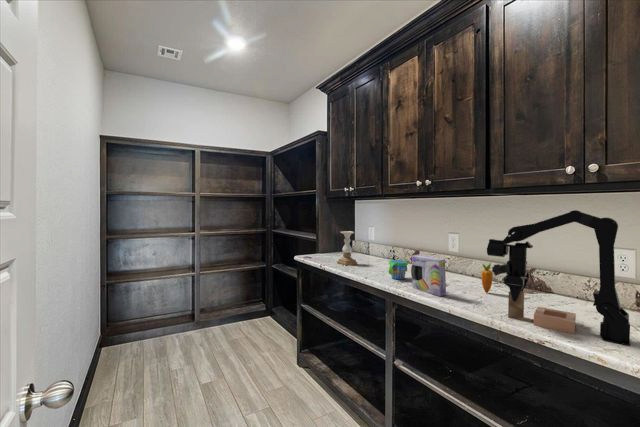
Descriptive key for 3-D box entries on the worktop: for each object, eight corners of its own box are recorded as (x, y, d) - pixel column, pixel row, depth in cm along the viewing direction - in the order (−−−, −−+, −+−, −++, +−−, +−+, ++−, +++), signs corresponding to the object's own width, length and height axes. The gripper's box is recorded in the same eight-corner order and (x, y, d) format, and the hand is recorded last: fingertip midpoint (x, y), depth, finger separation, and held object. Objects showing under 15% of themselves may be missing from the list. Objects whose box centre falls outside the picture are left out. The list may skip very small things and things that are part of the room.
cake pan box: (410, 287, 163) (410, 254, 163) (417, 286, 166) (417, 253, 165) (439, 297, 146) (439, 260, 146) (446, 296, 149) (447, 259, 148)
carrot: (480, 293, 153) (481, 263, 153) (481, 291, 158) (482, 261, 157) (491, 295, 151) (492, 264, 150) (492, 292, 155) (493, 262, 154)
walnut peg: (523, 317, 121) (524, 291, 120) (521, 320, 117) (522, 294, 117) (510, 314, 124) (510, 289, 123) (508, 317, 120) (508, 292, 120)
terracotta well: (575, 324, 114) (575, 313, 114) (574, 333, 105) (574, 322, 105) (537, 316, 121) (537, 306, 121) (533, 325, 113) (533, 314, 113)
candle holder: (357, 264, 226) (357, 232, 225) (345, 266, 220) (345, 232, 219) (348, 262, 235) (348, 230, 235) (336, 263, 229) (336, 231, 229)
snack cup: (399, 275, 192) (400, 258, 192) (413, 278, 184) (414, 261, 183) (382, 278, 183) (382, 261, 183) (395, 282, 175) (396, 264, 174)
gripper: (499, 253, 132) (498, 290, 132) (488, 259, 118) (487, 299, 118) (530, 256, 125) (529, 295, 125) (523, 262, 111) (522, 306, 111)
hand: (516, 298), depth 120 cm, fingers open, 9 cm apart
